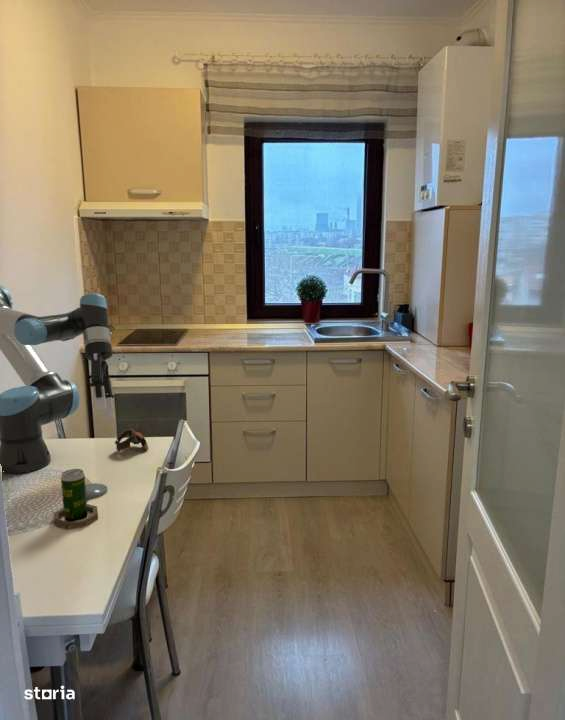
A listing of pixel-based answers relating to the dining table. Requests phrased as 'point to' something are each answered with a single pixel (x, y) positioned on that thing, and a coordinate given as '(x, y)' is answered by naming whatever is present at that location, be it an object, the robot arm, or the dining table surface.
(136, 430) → the dark brown arched part
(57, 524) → the walnut ring
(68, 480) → the beer can
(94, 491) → the slate coaster
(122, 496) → the dining table surface
